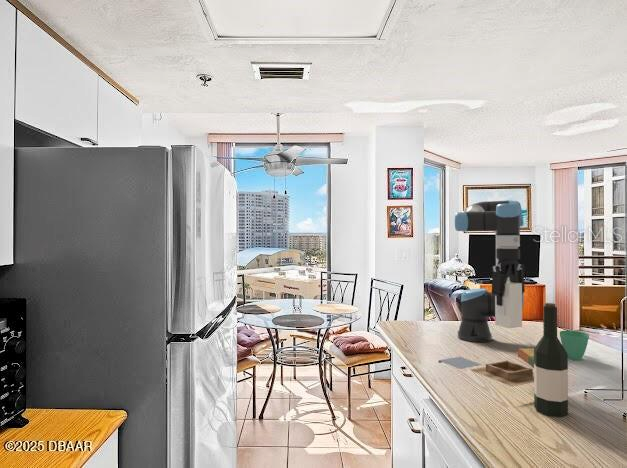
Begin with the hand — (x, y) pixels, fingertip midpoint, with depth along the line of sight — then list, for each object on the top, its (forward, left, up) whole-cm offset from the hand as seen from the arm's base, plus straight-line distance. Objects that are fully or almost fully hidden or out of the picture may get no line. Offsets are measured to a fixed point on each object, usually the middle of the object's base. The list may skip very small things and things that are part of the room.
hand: (508, 313), depth 144 cm
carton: (-5, +20, -22) cm, 31 cm away
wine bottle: (+25, -13, -22) cm, 36 cm away
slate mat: (-17, -6, -22) cm, 28 cm away
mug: (-5, +42, -22) cm, 48 cm away
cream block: (0, 0, -4) cm, 4 cm away
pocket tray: (0, 0, -22) cm, 22 cm away
